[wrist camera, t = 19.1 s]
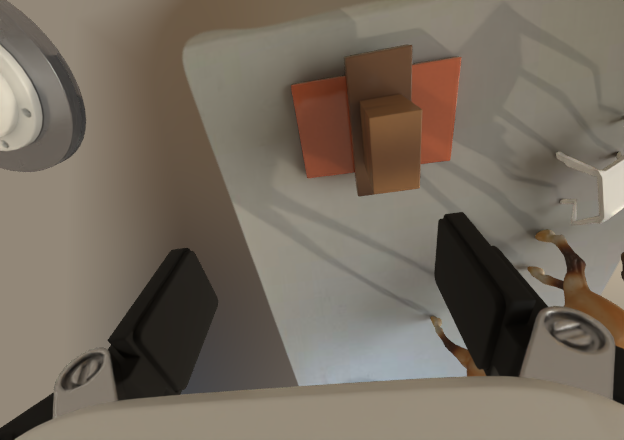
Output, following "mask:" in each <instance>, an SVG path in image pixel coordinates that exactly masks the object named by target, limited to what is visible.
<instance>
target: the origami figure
mask: <svg viewBox="0 0 624 440" xmlns="http://www.w3.org/2000/svg"><path fill="white" fill-rule="evenodd" d="M556 157H557V159H559V160H561V161H563V162H565V165H566V166H568V167H571V168H574V169H576V170H579V171H582V172H584V173H587V174H589V175H592V176H595V177H597V181H598V200H599V216H595V217H591V218H587V219H582V220H578V221H576V217H577V200H575V199H563V200H561V201H560V203H566V204H574V206H573V212H572V218H571V224H570V225H582V224H591V223H599V224H600V223H602V222H604V221H606V220H608V219H609V218H611V217H612V216H613V215H615V214H616V213H617V212H619V211H620V210H621V209H623V208H624V155H623V156H621V152H618V153H617V156H616V158H617V160H616V161H615V162H613V163H612V164H610V165H609V166H607V167H606V168H604V169H603V170H602V171H600V170H598V169H596V168H594V167H592V166H590V165H587V164H585V163H583V162H581V161H578V160H576V159H574V158H572V157H568V156H566V155H565V154H563V153H561V152H556Z"/></svg>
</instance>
